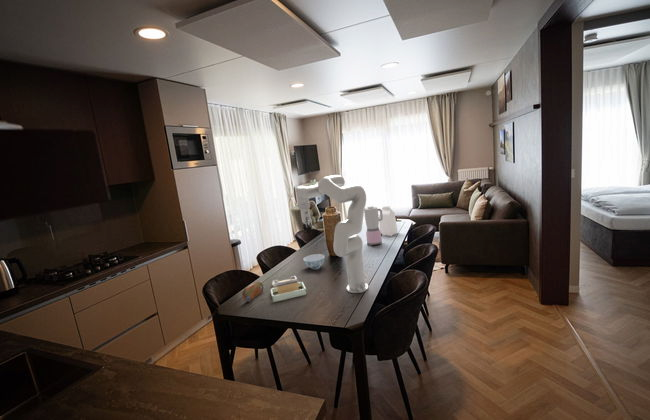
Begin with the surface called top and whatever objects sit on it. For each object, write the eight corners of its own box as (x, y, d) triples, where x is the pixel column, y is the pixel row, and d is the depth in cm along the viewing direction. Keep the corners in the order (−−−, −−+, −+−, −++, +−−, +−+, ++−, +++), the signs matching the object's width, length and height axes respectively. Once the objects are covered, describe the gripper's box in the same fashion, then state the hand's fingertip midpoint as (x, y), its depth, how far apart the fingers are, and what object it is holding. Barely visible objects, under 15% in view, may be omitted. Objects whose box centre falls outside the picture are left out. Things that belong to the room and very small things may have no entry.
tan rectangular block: (299, 291, 179) (297, 280, 178) (278, 296, 176) (277, 285, 175) (298, 289, 182) (296, 278, 181) (278, 294, 179) (276, 283, 178)
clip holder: (299, 285, 190) (298, 280, 189) (273, 291, 186) (272, 286, 185) (296, 278, 201) (295, 273, 201) (272, 284, 198) (271, 279, 197)
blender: (370, 247, 248) (365, 208, 243) (365, 243, 260) (360, 206, 255) (388, 243, 252) (384, 205, 246) (382, 240, 263) (378, 204, 258)
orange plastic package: (246, 304, 173) (244, 290, 172) (242, 303, 175) (240, 289, 174) (264, 292, 186) (262, 279, 184) (261, 292, 187) (258, 279, 186)
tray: (306, 294, 176) (306, 288, 175) (273, 302, 171) (272, 296, 171) (303, 286, 187) (302, 281, 186) (271, 294, 183) (270, 288, 182)
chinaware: (323, 271, 209) (322, 260, 207) (302, 272, 212) (301, 261, 210) (327, 263, 223) (326, 253, 222) (307, 264, 226) (306, 254, 225)
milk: (380, 235, 281) (377, 207, 276) (386, 231, 289) (383, 205, 285) (391, 235, 273) (389, 207, 269) (397, 232, 281) (395, 205, 277)
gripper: (312, 206, 189) (316, 233, 192) (307, 203, 205) (310, 227, 208) (300, 208, 187) (304, 235, 190) (296, 205, 204) (299, 229, 206)
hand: (307, 231), depth 199 cm, fingers open, 9 cm apart
